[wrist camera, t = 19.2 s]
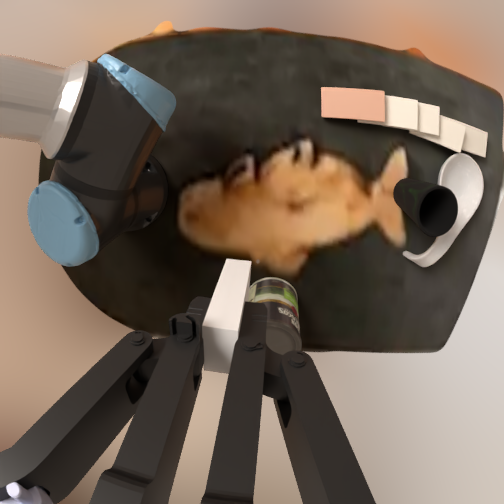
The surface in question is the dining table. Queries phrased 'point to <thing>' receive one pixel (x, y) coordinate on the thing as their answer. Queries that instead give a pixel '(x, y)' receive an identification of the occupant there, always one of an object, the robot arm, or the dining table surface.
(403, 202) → the cup
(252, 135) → the dining table surface
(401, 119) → the tile
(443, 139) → the tile
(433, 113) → the tile
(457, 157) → the spoon rest
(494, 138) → the dining table surface
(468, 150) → the tile
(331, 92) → the tile
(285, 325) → the coffee can
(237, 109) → the dining table surface
